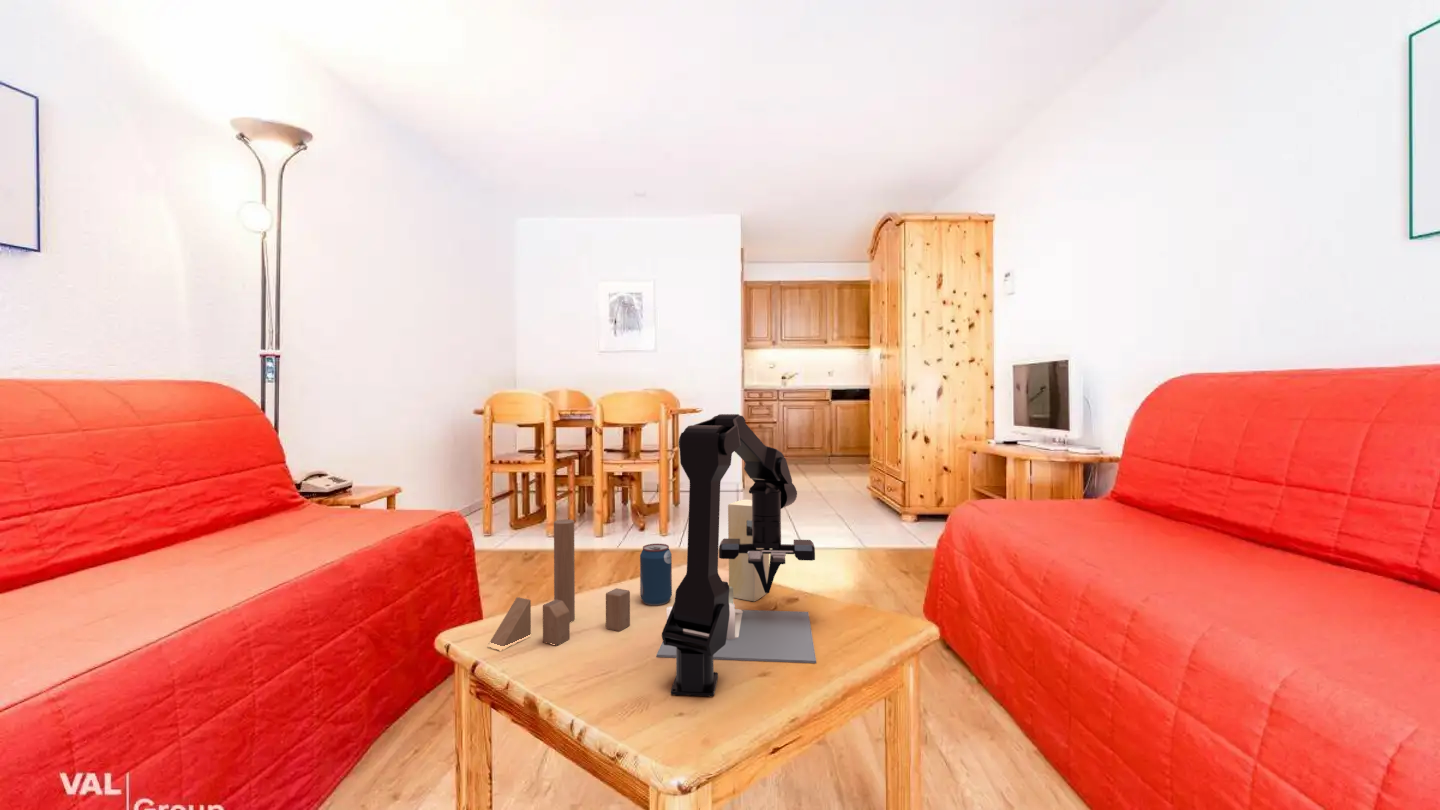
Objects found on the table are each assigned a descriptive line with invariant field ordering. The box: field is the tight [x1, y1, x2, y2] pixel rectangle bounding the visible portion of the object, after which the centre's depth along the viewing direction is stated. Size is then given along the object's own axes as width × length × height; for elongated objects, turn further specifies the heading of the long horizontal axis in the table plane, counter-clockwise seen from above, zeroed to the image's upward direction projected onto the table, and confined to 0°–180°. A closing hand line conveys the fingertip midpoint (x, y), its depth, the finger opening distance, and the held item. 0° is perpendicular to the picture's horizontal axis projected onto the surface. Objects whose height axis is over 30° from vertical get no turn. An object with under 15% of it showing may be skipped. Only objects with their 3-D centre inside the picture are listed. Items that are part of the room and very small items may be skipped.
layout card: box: [655, 602, 817, 664], centre depth 103 cm, size 22×27×6 cm
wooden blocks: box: [489, 519, 631, 646], centre depth 102 cm, size 17×20×20 cm
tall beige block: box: [727, 499, 770, 602], centre depth 125 cm, size 8×7×21 cm
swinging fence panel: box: [729, 587, 734, 604], centre depth 107 cm, size 2×12×4 cm, turn 0°
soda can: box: [639, 543, 673, 606], centre depth 121 cm, size 7×7×12 cm
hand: (767, 592), depth 109 cm, fingers closed
